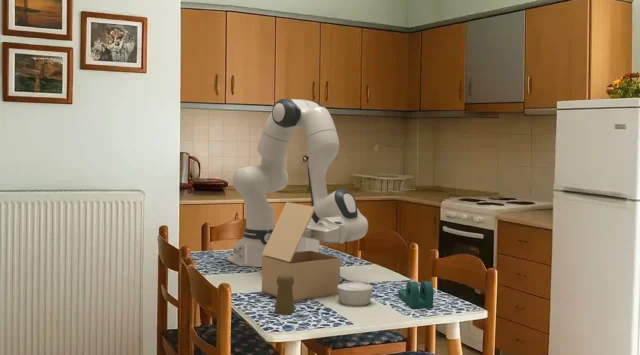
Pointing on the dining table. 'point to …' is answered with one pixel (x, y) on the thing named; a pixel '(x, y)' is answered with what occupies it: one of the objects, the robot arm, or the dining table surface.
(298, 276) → the kraft carton
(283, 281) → the olive pepper mill
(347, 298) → the ramekin
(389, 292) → the dining table surface
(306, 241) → the milk carton
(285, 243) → the carton flap
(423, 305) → the bracket
